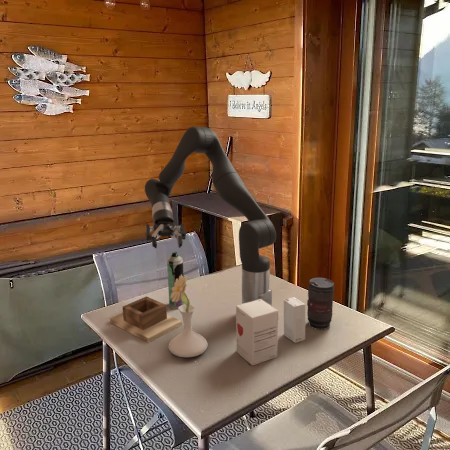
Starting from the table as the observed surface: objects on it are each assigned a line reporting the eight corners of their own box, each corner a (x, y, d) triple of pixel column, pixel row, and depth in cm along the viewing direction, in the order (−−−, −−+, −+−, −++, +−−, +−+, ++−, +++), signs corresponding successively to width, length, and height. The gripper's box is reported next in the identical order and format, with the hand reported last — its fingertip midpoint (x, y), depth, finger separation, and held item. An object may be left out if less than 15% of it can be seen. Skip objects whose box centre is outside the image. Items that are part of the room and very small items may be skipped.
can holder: (182, 325, 153) (181, 307, 151) (148, 342, 143) (147, 323, 141) (142, 307, 166) (141, 290, 164) (109, 322, 156) (108, 304, 154)
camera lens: (317, 333, 147) (319, 289, 143) (301, 322, 154) (303, 280, 150) (337, 326, 151) (340, 283, 147) (320, 316, 158) (323, 275, 154)
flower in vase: (171, 340, 144) (168, 264, 137) (208, 340, 144) (207, 264, 137) (165, 364, 132) (160, 282, 125) (205, 364, 131) (203, 282, 124)
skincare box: (305, 340, 144) (307, 304, 140) (293, 343, 142) (294, 307, 138) (294, 331, 149) (295, 296, 145) (282, 334, 147) (283, 299, 144)
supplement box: (235, 351, 138) (234, 304, 134) (260, 343, 142) (261, 297, 138) (251, 366, 130) (252, 317, 126) (278, 357, 135) (279, 310, 130)
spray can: (183, 308, 165) (181, 255, 159) (168, 308, 165) (165, 255, 159) (185, 301, 170) (183, 249, 164) (170, 301, 170) (167, 249, 164)
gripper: (144, 208, 172) (148, 239, 161) (182, 208, 176) (189, 238, 165) (143, 223, 177) (147, 254, 166) (180, 223, 181) (186, 253, 169)
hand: (168, 246), depth 165 cm, fingers open, 8 cm apart
